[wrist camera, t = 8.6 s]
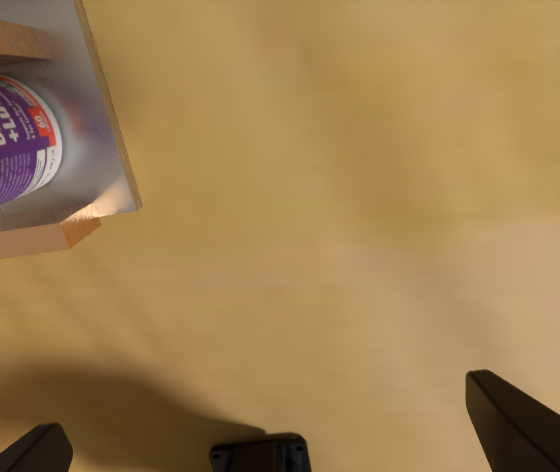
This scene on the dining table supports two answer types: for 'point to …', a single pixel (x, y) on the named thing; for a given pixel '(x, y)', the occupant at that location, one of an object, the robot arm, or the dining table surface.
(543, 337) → the dining table surface
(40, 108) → the pill bottle
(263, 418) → the dining table surface
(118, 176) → the grey block with slats
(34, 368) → the dining table surface
